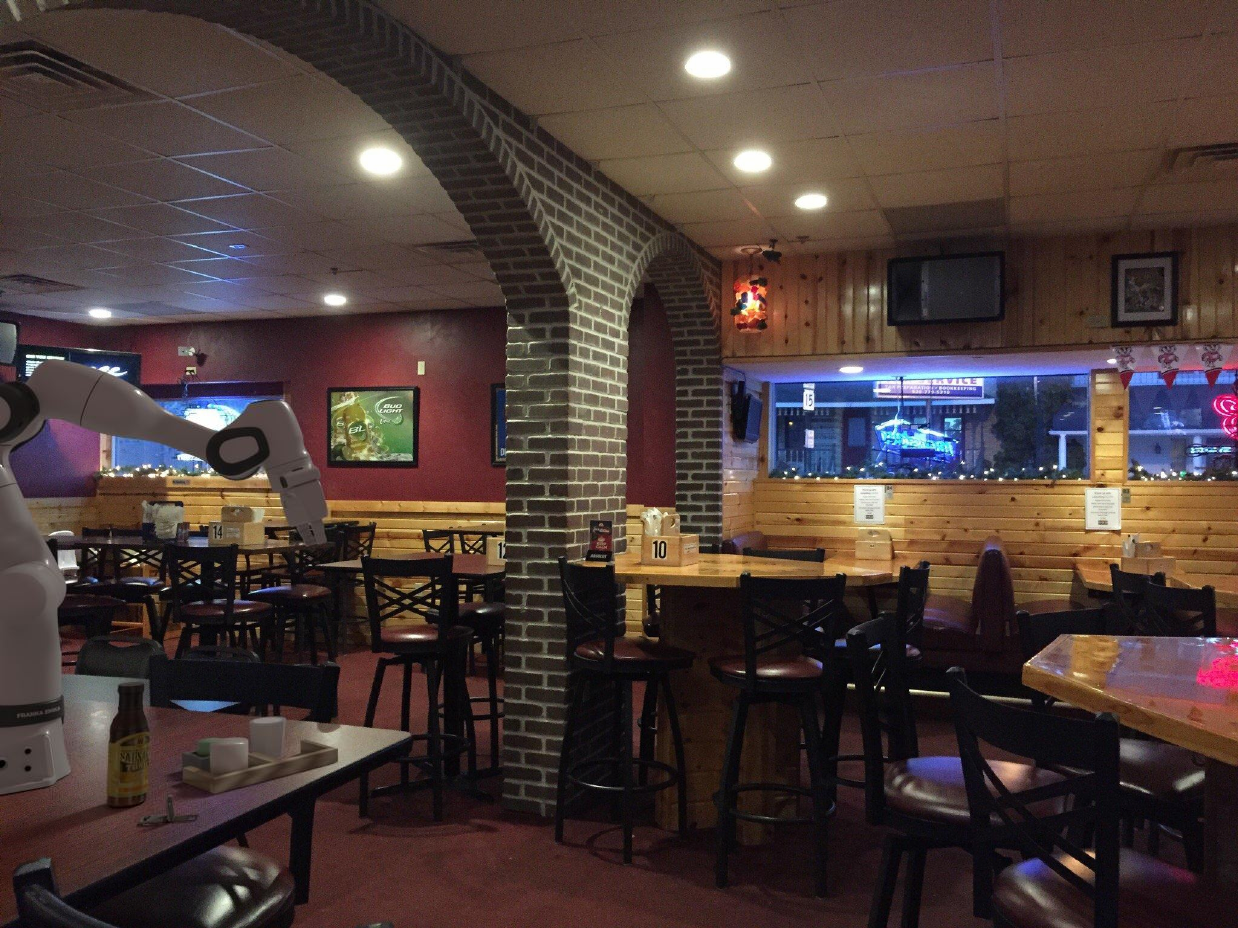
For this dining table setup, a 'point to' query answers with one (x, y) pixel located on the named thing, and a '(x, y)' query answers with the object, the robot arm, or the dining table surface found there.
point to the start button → (204, 746)
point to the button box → (195, 761)
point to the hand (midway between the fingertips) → (316, 544)
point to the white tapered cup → (268, 735)
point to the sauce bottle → (128, 749)
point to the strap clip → (170, 815)
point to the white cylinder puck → (228, 755)
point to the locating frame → (262, 768)
